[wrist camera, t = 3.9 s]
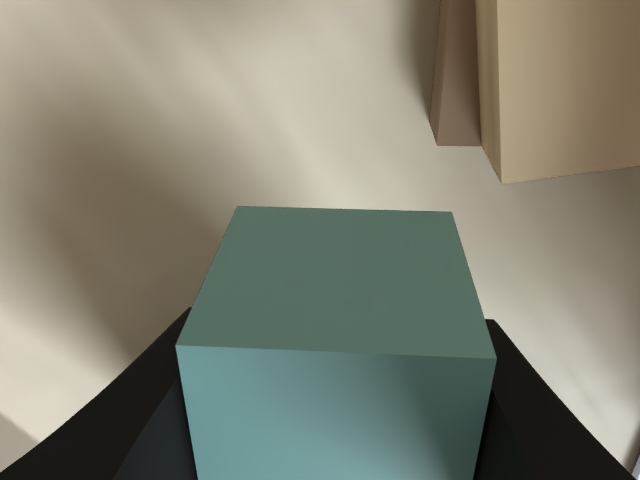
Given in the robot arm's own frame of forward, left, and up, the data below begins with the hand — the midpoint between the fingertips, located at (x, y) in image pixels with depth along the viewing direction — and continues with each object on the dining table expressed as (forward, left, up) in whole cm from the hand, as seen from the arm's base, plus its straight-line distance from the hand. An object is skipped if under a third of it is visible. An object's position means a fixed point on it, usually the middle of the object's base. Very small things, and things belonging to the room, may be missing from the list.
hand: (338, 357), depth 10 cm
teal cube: (0, 0, -2) cm, 2 cm away
